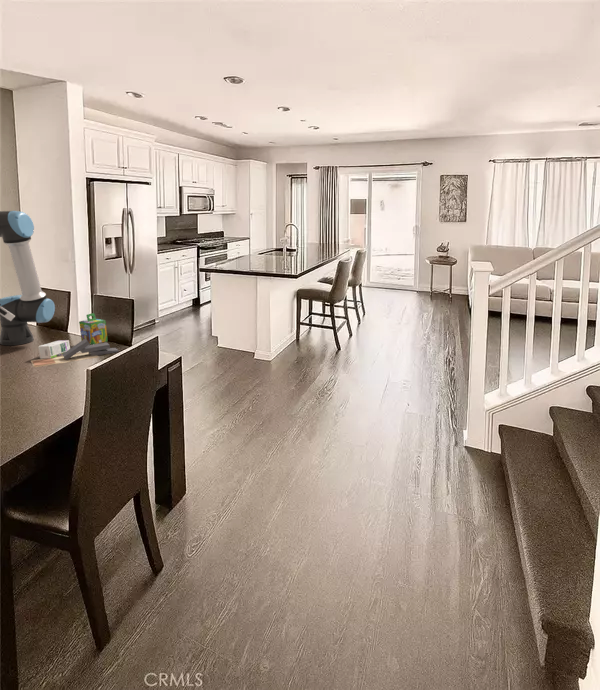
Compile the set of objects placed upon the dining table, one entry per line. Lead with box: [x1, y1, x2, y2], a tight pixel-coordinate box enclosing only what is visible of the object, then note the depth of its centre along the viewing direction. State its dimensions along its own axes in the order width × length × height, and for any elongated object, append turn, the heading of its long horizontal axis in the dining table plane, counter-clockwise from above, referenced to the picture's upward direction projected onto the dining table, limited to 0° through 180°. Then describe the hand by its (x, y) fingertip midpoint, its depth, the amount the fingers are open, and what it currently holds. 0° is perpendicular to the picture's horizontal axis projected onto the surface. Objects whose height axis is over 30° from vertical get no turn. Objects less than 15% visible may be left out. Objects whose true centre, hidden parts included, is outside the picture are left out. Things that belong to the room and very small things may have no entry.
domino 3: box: [89, 347, 119, 356], centre depth 241 cm, size 5×2×12 cm
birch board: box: [30, 352, 99, 369], centre depth 233 cm, size 12×26×1 cm, turn 123°
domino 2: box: [79, 341, 111, 353], centre depth 238 cm, size 5×2×12 cm
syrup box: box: [37, 339, 71, 359], centre depth 239 cm, size 6×6×14 cm
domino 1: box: [61, 338, 91, 360], centre depth 234 cm, size 5×2×12 cm
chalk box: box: [78, 313, 108, 345], centre depth 260 cm, size 9×9×15 cm
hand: (12, 318), depth 219 cm, fingers closed
